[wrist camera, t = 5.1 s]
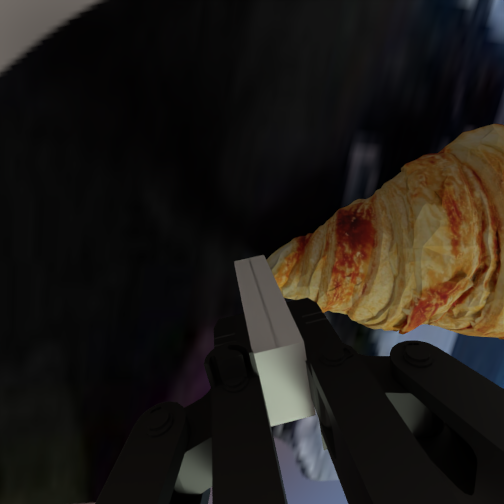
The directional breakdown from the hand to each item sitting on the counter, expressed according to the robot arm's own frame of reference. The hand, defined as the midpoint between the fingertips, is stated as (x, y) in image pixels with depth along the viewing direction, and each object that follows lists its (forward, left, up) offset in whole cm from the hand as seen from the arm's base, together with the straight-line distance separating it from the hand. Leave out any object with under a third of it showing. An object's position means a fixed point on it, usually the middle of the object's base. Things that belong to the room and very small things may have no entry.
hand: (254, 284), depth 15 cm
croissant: (-11, 0, -3) cm, 11 cm away
